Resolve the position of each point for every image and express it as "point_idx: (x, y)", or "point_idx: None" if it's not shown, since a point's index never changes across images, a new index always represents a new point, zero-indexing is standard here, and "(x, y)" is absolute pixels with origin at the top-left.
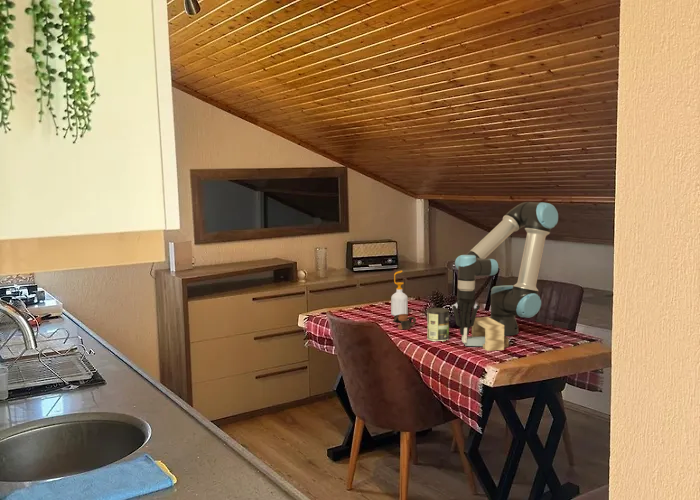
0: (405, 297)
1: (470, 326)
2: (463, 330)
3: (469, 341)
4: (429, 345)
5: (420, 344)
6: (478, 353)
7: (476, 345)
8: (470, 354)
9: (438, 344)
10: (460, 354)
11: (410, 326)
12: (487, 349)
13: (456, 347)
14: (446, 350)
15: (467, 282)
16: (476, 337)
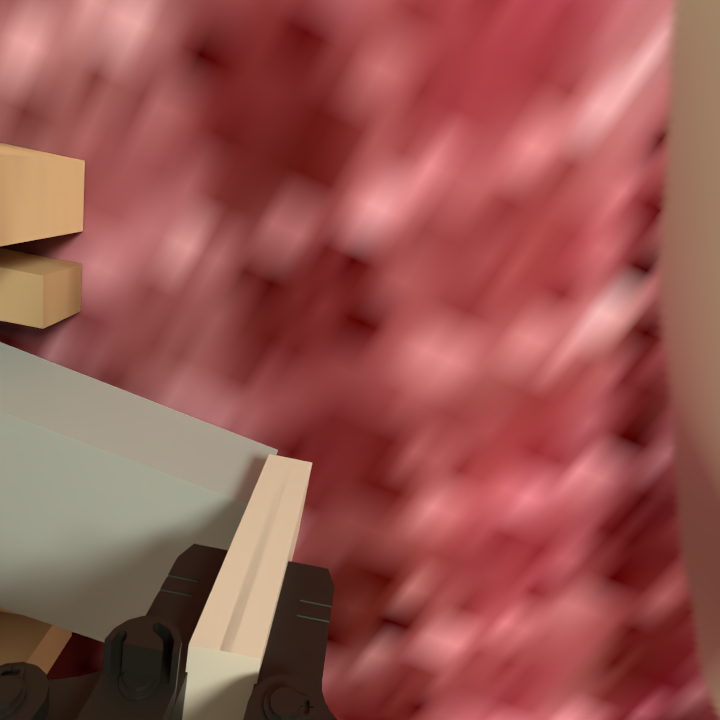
0: None
1: (65, 683)
2: (276, 632)
3: (210, 465)
4: (617, 657)
5: (673, 716)
6: (278, 77)
7: (132, 398)
8: (427, 77)
9: (502, 654)
10: (563, 147)
11: None
12: (61, 157)
13: (390, 481)
14: (594, 412)
15: None
16: (28, 557)
